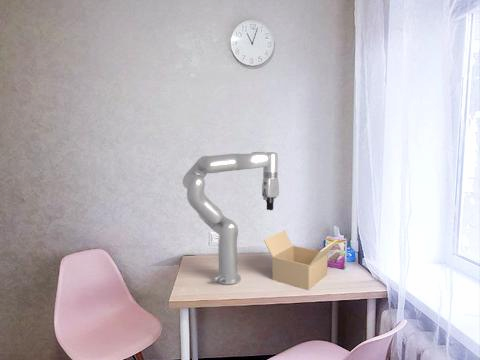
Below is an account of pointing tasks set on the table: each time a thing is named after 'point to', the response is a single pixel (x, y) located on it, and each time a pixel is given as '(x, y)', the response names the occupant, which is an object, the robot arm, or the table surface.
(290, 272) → the carton
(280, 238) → the far flap
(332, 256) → the candy bar box
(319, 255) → the near flap
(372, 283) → the table surface
